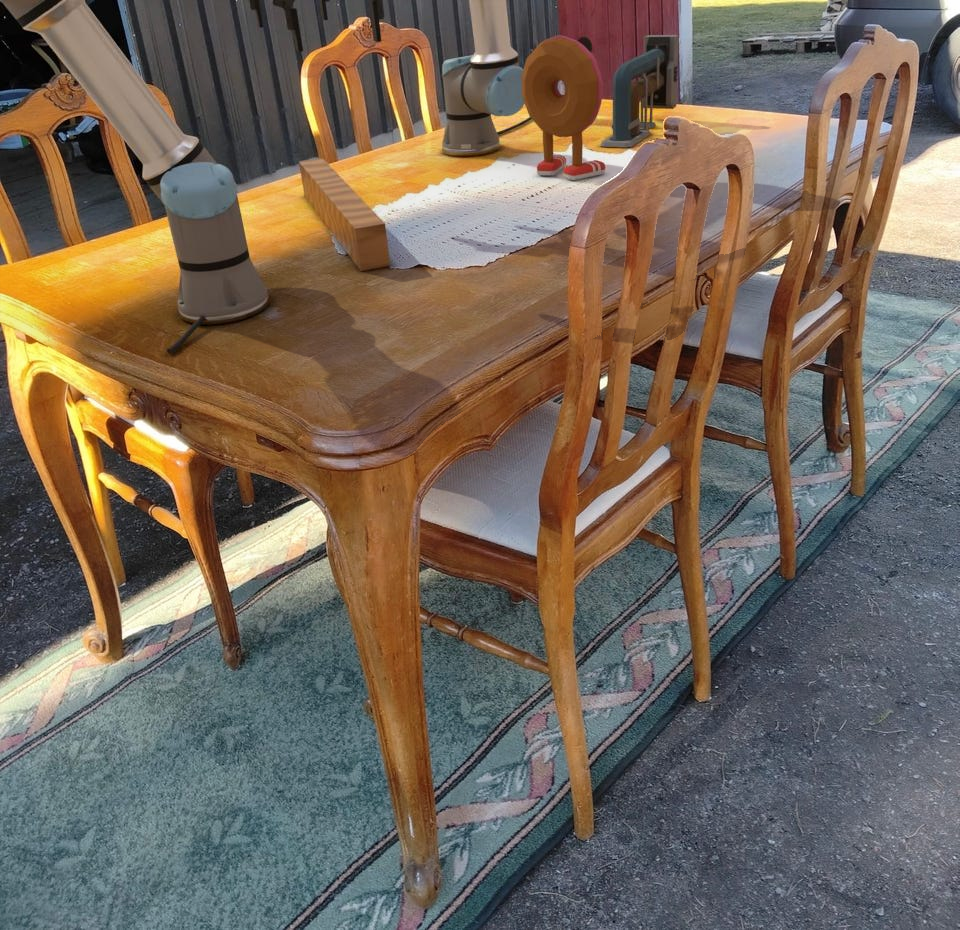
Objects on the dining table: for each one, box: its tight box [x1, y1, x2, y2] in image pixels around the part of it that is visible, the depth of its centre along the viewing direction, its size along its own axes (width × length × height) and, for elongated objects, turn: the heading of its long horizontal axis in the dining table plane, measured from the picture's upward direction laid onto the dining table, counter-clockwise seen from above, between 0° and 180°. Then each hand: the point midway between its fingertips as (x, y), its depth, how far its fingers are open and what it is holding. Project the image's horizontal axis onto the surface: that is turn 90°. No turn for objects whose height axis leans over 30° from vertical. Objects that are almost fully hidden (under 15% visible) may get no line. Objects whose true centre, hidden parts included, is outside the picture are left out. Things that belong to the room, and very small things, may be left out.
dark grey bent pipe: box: [599, 34, 679, 148], centre depth 253 cm, size 35×9×21 cm, turn 151°
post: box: [298, 157, 391, 272], centre depth 201 cm, size 60×6×8 cm, turn 19°
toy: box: [521, 34, 606, 181], centre depth 218 cm, size 21×10×30 cm, turn 47°
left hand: (339, 46), depth 165 cm, fingers open, 13 cm apart
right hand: (293, 23), depth 203 cm, fingers open, 13 cm apart
